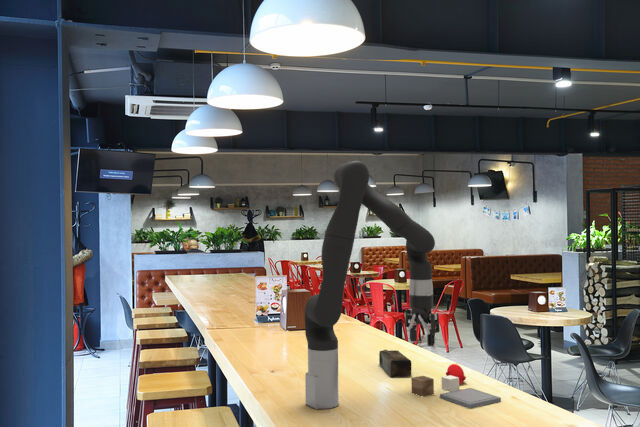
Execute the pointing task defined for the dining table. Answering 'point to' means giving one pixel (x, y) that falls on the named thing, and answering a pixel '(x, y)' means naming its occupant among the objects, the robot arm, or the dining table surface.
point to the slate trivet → (470, 397)
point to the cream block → (450, 383)
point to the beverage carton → (395, 363)
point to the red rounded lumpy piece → (456, 372)
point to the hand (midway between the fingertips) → (422, 343)
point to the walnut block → (422, 385)
